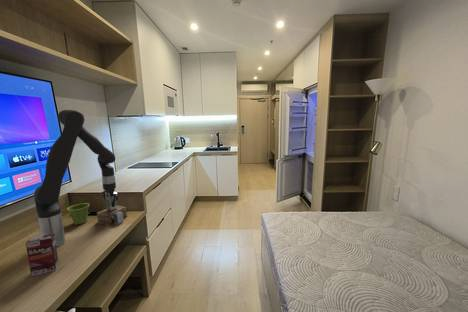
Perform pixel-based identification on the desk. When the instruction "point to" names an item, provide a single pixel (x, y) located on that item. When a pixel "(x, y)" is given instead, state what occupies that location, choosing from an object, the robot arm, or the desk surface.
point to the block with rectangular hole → (109, 215)
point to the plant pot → (79, 213)
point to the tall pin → (110, 206)
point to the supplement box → (42, 254)
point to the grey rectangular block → (118, 217)
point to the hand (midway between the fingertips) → (111, 206)
